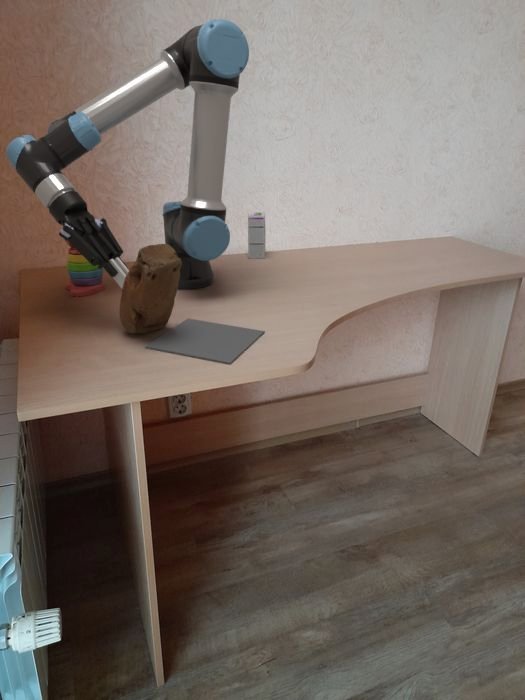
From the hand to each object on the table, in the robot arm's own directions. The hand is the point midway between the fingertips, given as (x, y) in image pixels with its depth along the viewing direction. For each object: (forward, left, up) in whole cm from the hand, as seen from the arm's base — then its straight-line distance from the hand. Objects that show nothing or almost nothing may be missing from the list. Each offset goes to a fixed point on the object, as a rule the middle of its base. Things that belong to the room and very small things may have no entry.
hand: (129, 285), depth 116 cm
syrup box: (-73, -1, -11) cm, 74 cm away
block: (-2, +1, -10) cm, 10 cm away
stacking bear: (-20, -30, -11) cm, 38 cm away
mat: (-2, +17, -11) cm, 21 cm away
